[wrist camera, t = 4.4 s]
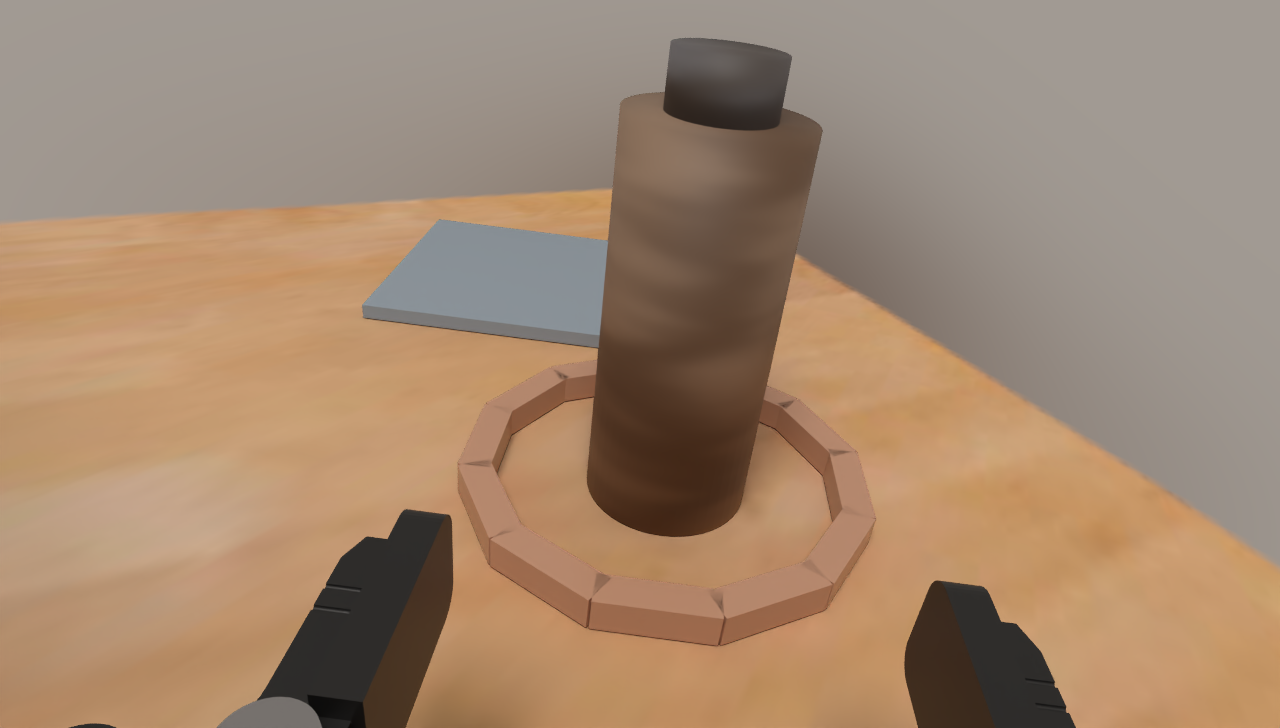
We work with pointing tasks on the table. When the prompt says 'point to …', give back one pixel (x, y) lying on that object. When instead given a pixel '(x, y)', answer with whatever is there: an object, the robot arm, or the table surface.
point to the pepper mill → (695, 283)
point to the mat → (498, 284)
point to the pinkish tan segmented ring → (650, 601)
